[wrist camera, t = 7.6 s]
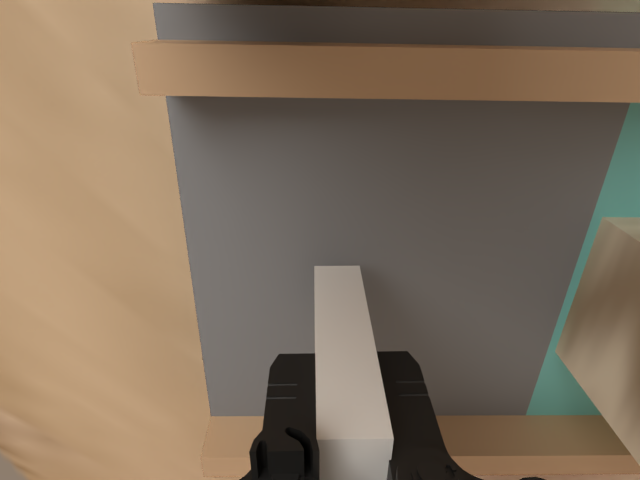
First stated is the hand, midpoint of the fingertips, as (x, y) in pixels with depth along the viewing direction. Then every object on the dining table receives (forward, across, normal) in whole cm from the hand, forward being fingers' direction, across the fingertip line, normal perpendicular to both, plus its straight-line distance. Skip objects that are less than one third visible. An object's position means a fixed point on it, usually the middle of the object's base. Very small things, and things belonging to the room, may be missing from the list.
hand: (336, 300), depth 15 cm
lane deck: (+4, +11, 0) cm, 12 cm away
